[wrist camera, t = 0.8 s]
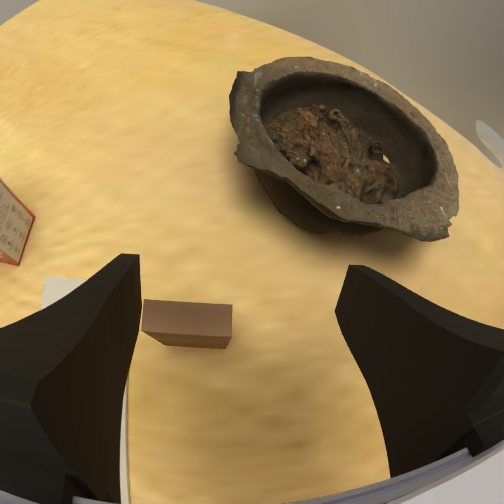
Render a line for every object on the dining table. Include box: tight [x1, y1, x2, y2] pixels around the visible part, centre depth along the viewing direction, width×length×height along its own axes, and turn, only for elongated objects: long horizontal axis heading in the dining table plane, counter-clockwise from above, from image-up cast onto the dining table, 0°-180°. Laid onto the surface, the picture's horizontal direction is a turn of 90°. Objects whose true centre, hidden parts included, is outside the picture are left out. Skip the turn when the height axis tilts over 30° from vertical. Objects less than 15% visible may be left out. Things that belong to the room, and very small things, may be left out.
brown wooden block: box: [141, 299, 232, 349], centre depth 21 cm, size 2×5×9 cm, turn 89°
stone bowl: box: [229, 57, 459, 242], centre depth 30 cm, size 25×25×9 cm
